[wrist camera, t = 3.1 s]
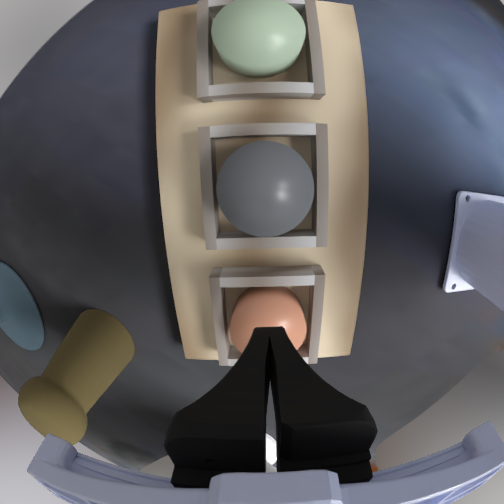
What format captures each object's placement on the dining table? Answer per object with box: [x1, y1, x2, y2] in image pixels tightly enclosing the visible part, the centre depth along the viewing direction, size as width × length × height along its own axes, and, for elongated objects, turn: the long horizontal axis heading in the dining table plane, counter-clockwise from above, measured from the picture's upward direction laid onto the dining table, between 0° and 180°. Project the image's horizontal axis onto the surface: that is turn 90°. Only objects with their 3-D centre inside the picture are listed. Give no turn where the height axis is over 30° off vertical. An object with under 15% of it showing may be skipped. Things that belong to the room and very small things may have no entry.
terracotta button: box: [230, 286, 307, 353], centre depth 16 cm, size 4×4×2 cm
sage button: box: [211, 0, 306, 78], centre depth 11 cm, size 4×4×2 cm
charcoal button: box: [216, 141, 314, 237], centre depth 13 cm, size 4×4×2 cm
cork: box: [18, 309, 135, 445], centre depth 16 cm, size 6×6×11 cm
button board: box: [156, 0, 369, 366], centre depth 15 cm, size 12×24×3 cm, turn 2°
